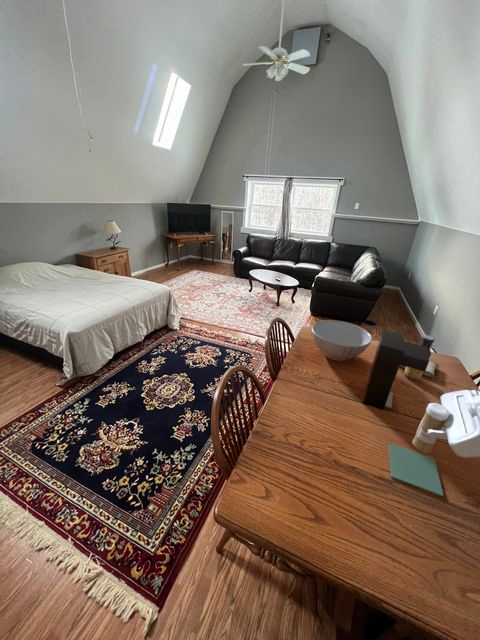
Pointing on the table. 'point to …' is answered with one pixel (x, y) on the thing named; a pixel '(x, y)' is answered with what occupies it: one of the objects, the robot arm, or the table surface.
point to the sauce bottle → (427, 341)
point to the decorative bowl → (340, 339)
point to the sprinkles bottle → (430, 426)
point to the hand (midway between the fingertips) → (427, 427)
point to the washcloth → (427, 369)
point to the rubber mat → (414, 469)
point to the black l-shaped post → (391, 367)
